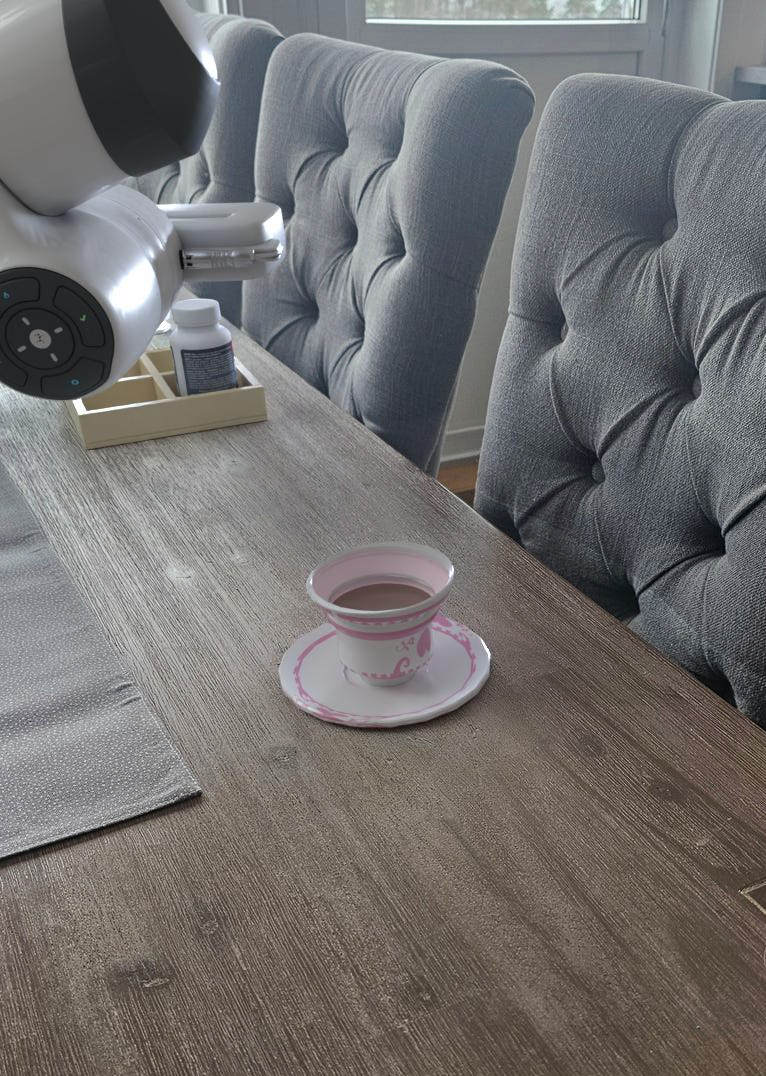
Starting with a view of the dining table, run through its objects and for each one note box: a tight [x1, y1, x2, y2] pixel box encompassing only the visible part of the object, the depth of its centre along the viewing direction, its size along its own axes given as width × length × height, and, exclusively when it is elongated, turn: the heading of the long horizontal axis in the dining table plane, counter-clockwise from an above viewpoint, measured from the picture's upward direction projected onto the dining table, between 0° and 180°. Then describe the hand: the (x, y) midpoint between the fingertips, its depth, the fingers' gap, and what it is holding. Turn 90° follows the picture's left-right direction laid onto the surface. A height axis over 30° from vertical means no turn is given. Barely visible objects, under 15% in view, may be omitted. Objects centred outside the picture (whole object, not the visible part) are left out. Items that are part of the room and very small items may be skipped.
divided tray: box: [64, 347, 269, 451], centre depth 101 cm, size 16×16×3 cm
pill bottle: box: [169, 298, 239, 397], centre depth 98 cm, size 5×5×9 cm
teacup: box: [277, 541, 491, 728], centre depth 62 cm, size 12×12×6 cm
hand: (148, 217), depth 80 cm, fingers open, 8 cm apart
